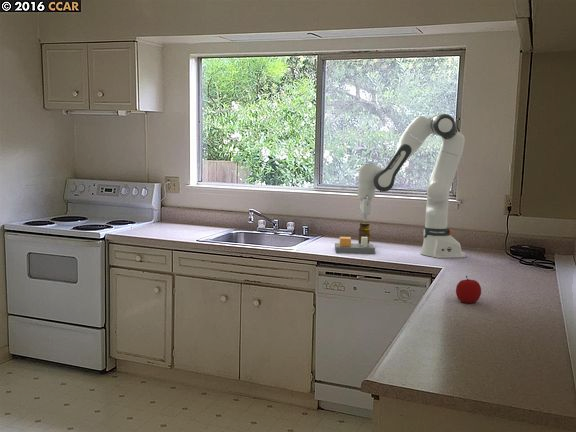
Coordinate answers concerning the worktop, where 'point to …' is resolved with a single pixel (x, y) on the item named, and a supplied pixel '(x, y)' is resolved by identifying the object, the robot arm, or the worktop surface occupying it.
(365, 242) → the button
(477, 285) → the apple
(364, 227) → the condiment
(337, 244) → the grey flat slab
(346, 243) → the lockout cap
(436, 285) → the worktop surface
